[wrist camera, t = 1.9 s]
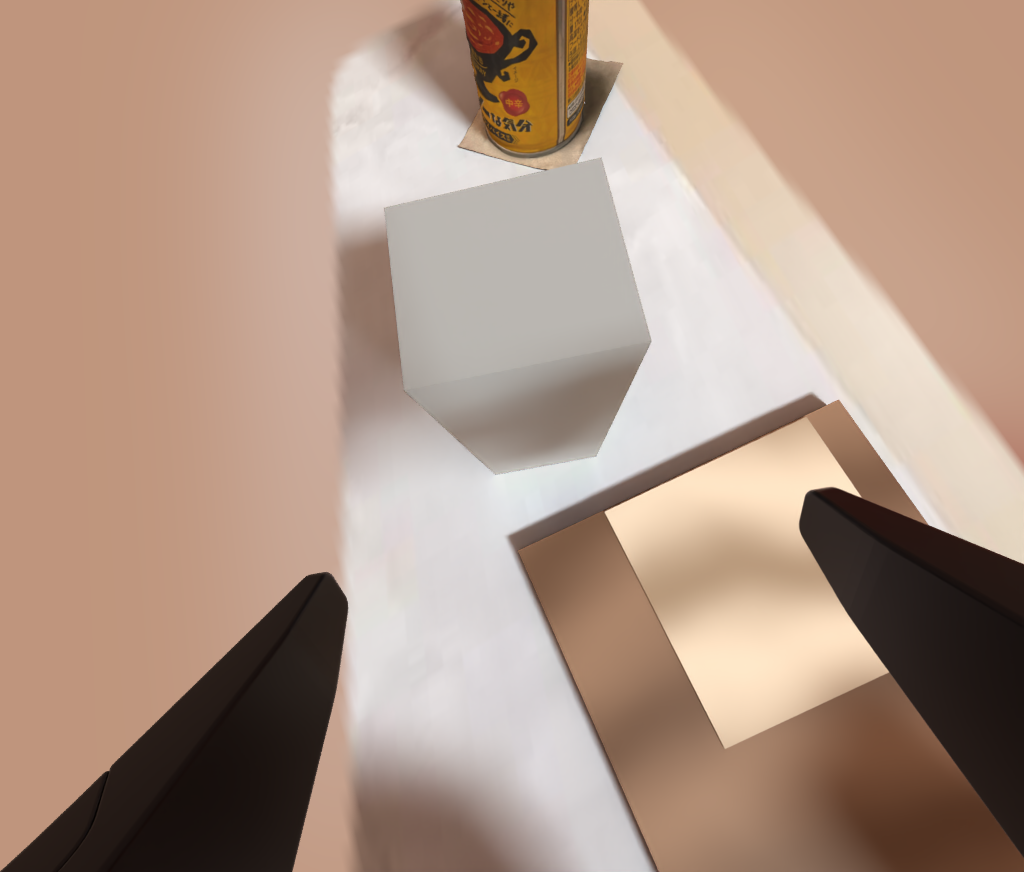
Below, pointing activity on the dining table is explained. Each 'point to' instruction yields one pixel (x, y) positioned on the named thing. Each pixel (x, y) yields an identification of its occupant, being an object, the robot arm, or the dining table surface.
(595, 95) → the condiment
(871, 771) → the brown square board
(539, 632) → the dining table surface
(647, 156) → the dining table surface
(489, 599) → the dining table surface
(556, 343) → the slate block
